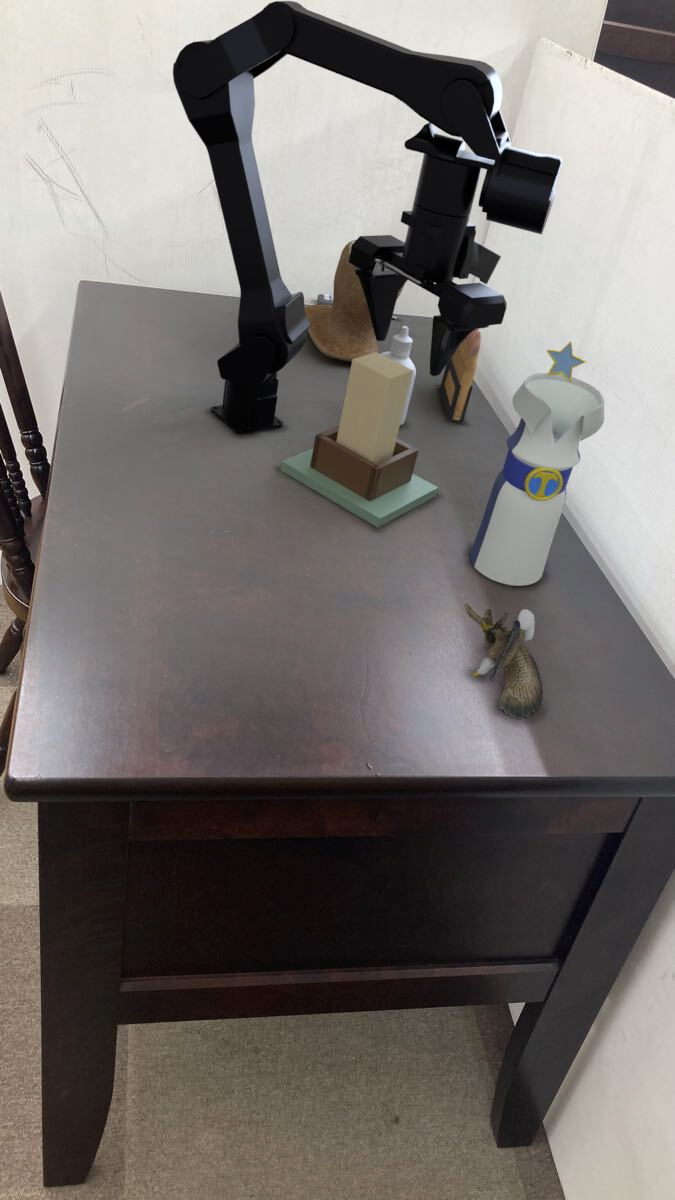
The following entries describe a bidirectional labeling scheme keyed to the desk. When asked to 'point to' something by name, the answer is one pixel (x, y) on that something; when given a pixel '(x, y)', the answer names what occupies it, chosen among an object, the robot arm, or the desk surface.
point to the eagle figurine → (511, 661)
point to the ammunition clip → (460, 377)
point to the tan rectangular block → (373, 406)
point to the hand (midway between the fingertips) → (406, 357)
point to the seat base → (361, 478)
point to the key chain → (328, 300)
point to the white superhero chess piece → (536, 472)
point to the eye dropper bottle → (402, 360)
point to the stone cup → (344, 317)
